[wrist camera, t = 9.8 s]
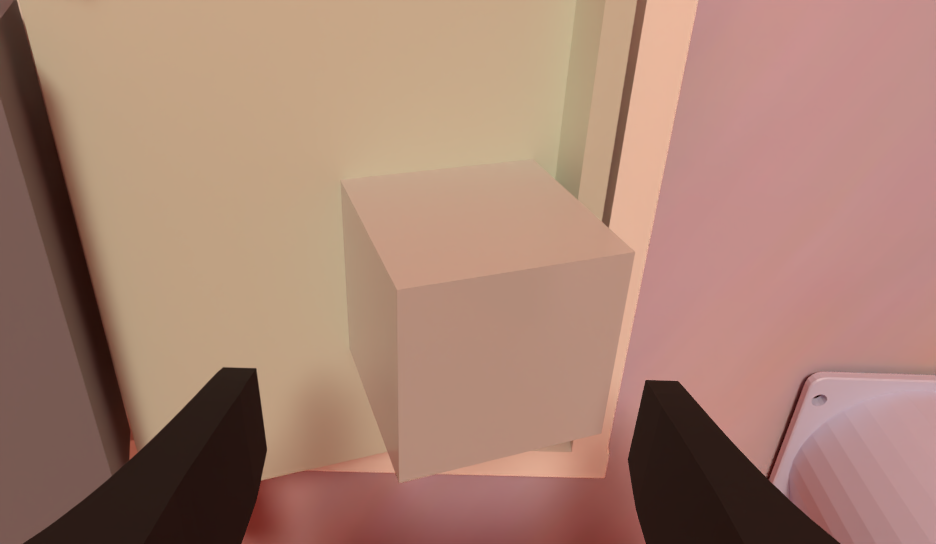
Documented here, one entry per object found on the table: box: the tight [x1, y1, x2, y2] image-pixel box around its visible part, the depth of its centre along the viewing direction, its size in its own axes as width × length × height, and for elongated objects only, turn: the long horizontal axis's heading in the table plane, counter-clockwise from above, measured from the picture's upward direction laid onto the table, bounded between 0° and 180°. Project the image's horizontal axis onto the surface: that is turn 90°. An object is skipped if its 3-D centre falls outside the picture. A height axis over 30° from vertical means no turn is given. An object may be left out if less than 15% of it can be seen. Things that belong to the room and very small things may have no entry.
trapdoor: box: [0, 0, 637, 544], centre depth 18 cm, size 14×19×4 cm
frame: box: [17, 0, 698, 478], centre depth 19 cm, size 21×22×7 cm
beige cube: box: [340, 159, 635, 483], centre depth 17 cm, size 5×5×5 cm
